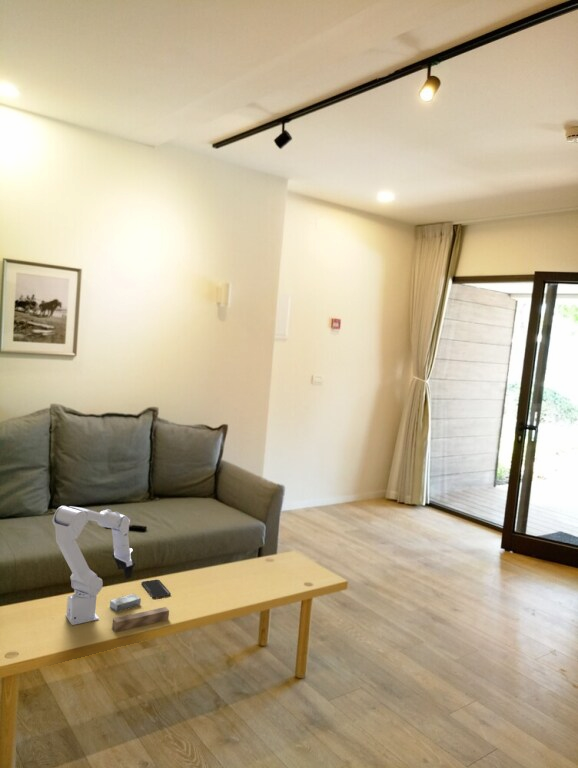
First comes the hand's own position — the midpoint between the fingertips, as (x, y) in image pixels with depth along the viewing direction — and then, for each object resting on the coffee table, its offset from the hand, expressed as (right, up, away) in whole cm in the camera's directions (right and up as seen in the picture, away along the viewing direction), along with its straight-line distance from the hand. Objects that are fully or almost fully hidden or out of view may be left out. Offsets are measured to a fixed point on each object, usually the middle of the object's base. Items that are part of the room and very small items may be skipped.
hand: (124, 573), depth 217 cm
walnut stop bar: (+11, -12, -18) cm, 24 cm away
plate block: (+2, -11, -6) cm, 13 cm away
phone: (+10, -11, +10) cm, 18 cm away
